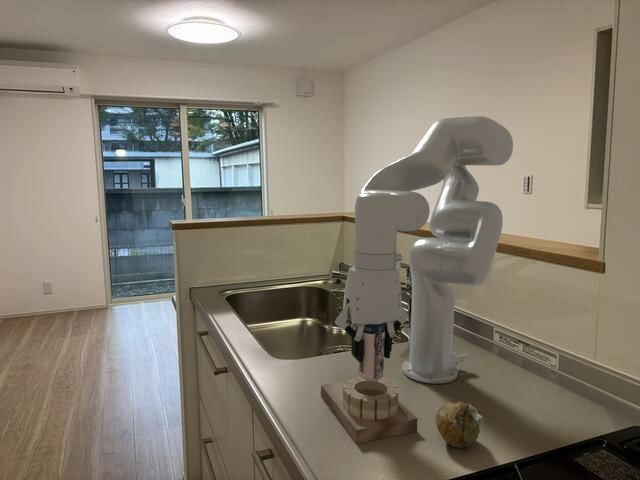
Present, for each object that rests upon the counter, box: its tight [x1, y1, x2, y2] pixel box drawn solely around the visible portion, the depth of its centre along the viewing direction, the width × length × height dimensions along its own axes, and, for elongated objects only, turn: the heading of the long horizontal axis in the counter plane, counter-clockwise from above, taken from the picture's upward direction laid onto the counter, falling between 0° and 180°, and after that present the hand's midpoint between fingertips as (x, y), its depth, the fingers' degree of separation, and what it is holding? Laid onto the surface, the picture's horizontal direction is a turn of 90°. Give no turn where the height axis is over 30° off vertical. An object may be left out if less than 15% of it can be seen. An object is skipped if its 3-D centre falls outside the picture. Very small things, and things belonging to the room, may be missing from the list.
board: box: [320, 376, 419, 444], centre depth 91 cm, size 12×18×6 cm, turn 20°
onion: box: [435, 401, 485, 449], centre depth 82 cm, size 8×8×8 cm
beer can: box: [357, 320, 385, 381], centre depth 88 cm, size 5×5×12 cm
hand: (371, 356), depth 88 cm, fingers closed on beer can, 4 cm apart
